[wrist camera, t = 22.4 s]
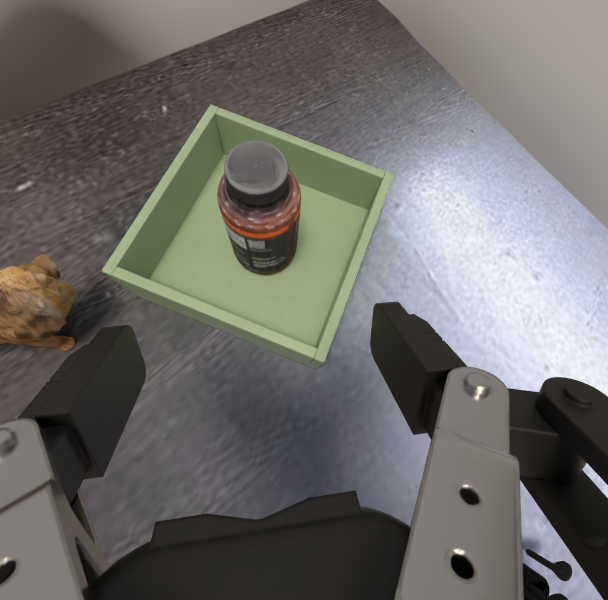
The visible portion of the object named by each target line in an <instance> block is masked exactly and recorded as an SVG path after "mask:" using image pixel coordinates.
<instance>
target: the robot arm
mask: <svg viewBox="0 0 608 600" xmlns="http://www.w3.org/2000/svg"><path fill="white" fill-rule="evenodd" d="M370 345H371V352H372V356H373V358H374V360H375V362H376V364H377V366H378V368H379V370H380V372H381V374H382V376H383V377H384V379H385V381H386V383H387V385H388V387H389V389H390V391H391V393H392V395H393V397H394V398H395V400H396V402H397V404H398V406H399V408H400V410H401V412H402V414H403V416H404V418H405V419H406V421H407V423H408V425H409V427H410V429H411V431H412V433H413V435H415V434H422V433H428V435H429V436H430V438H431V443H430V447H429V451H428V456H427V460H426V464H425V468H424V472H423V476H422V480H421V485H420V489H419V493H418V497H417V501H416V505H415V509H414V513H413V517H412V521H411V526H410V527H409V526H408V525H406V524H405V523H404V522H402V521H400V520H398V519H396V518H395V517H393V516H391V515H388V514H386V513H383V512H381V511H378V510H374V509H371V508H367V507H360V505H359V501H358V498H357V494H356V491H350V492H344V493H337V494H331V495H324V496H318V497H312V498H308V499H305V500H303V501H301V502H299V503H296V504H294V505H292V506H290V507H288V508H285V509H283V510H281V511H279V512H276V513H274V514H272V515H270V516H267V517H265V518H263V519H258V520H253V519H245V518H237V517H229V516H221V515H213V514H202V515H196V516H190V517H183V518H177V519H170V520H164V521H158V522H156V523H155V527H154V531H153V535H152V538H151V541H150V542H148V543H146V544H144V545H142V546H140V547H138V548H137V549H135V550H133V551H131V552H130V553H128V554H127V555H125V556H124V557H122V558H121V559H120V560H118V561H117V562H116V563H114V564H113V565H112V566H111V567H109V565H108V563H107V561H106V559H105V557H104V555H103V552H102V550H101V547H100V544H99V542H98V539H97V536H96V534H95V531H94V528H93V526H92V523H91V520H90V518H89V515H88V512H87V510H86V507H85V504H84V502H83V499H82V496H81V495H80V493H79V491H78V489H79V487H80V485H81V483H82V481H83V479H89V478H96V477H103V476H104V473H105V471H106V469H107V466H108V464H109V462H110V460H111V457H112V455H113V453H114V450H115V448H116V446H117V443H118V441H119V439H120V437H121V434H122V432H123V430H124V427H125V425H126V423H127V421H128V418H129V416H130V414H131V411H132V409H133V407H134V405H135V402H136V400H137V398H138V395H139V393H140V391H141V389H142V386H143V384H144V381H145V376H146V369H145V363H144V360H143V357H142V354H141V351H140V348H139V345H138V342H137V339H136V336H135V333H134V331H133V329H132V327H131V326H129V325H125V326H114V327H103V328H101V329H100V330H99V332H98V333H97V334H96V335H95V337H94V338H93V339H92V341H91V342H90V343H89V344H88V345H84V346H82V347H81V348H80V349H78V350H77V351H75V352H74V353H73V354H71V355H70V356H69V357H68V358H67V359H66V360H65V361H64V363H63V364H62V365H61V366H60V367H59V371H56V372H55V374H54V375H53V376H52V377H51V378H50V382H47V383H46V384H45V386H44V387H43V388H42V389H41V391H40V392H39V393H38V394H37V395H36V397H35V398H34V399H33V400H32V402H31V403H30V404H29V405H28V406H27V408H26V409H25V410H24V411H23V412H22V414H21V415H20V416H19V417H18V419H13V420H9V421H6V422H3V423H0V600H524V593H523V563H522V533H521V504H520V480H521V482H522V483H523V484H524V486H525V487H526V489H527V490H528V492H529V493H530V495H531V496H532V497H533V499H534V500H535V502H536V503H537V505H538V506H539V507H540V509H541V510H542V512H543V513H544V515H545V516H546V517H547V519H548V520H549V522H550V523H551V525H552V526H553V528H554V529H555V530H556V532H557V533H558V535H559V536H560V538H561V539H562V540H563V542H564V543H565V545H566V546H567V548H568V549H569V550H570V552H571V553H572V555H573V556H574V558H575V559H576V561H577V562H578V563H579V565H580V566H581V568H582V569H583V571H584V572H585V573H586V575H587V576H588V578H589V579H590V581H591V582H592V583H593V585H594V586H595V588H596V589H597V591H598V592H599V594H600V595H601V596H602V598H603V599H604V600H608V498H607V497H606V496H605V495H604V494H603V493H602V491H601V490H600V489H599V488H598V487H597V486H596V485H595V484H594V483H593V481H592V480H591V479H590V478H589V477H588V476H587V475H586V474H585V473H584V471H583V470H582V469H583V468H584V466H585V464H586V463H588V464H589V466H590V467H591V468H592V469H593V470H594V471H595V472H596V473H597V474H598V475H599V476H600V477H601V478H602V479H603V481H604V482H605V483H606V484H607V485H608V397H607V396H606V395H605V394H603V393H602V392H600V391H599V390H597V389H596V388H594V387H592V386H590V385H588V384H585V383H583V382H580V381H577V380H573V379H569V378H562V377H554V378H549V379H547V380H546V381H545V382H544V383H543V385H542V387H541V389H540V392H533V391H525V390H516V389H509V388H507V387H506V386H505V384H504V383H503V382H502V381H501V380H500V379H499V378H497V377H496V376H494V375H493V374H491V373H489V372H486V371H484V370H481V369H478V368H473V367H467V366H466V364H465V363H464V362H463V361H462V360H461V359H460V358H459V357H458V356H457V354H456V353H455V352H454V351H453V350H452V349H451V348H450V347H449V346H448V344H447V343H446V342H445V341H442V338H441V337H440V336H439V334H438V333H435V330H434V329H433V328H432V327H431V326H430V325H429V323H428V322H427V321H425V320H423V319H421V318H420V317H418V316H416V315H414V314H411V315H409V314H408V313H407V312H406V310H405V309H404V308H403V307H402V306H401V304H400V303H399V302H387V303H377V304H375V306H374V309H373V319H372V329H371V340H370Z"/></svg>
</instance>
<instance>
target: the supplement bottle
mask: <svg viewBox="0 0 608 600" xmlns="http://www.w3.org/2000/svg"><path fill="white" fill-rule="evenodd" d="M217 199H218V205H219V208H220V211H221V215H222V218H223V221H224V224H225V227H226V230H227V233H228V236H229V239H230V242H231V245H232V248H233V251H234V254H235V256H236V258H237V260H238V261H239V263H240V264H241V265H242V266H243V267H244V268H246V269H247V270H249V271H250V272H253V273H256V274H263V275H267V274H273V273H277V272H279V271H281V270H283V269H284V268H285V267H287V266H288V265H289V264H290V262H291V261H292V260H293V258H294V256H295V253H296V248H297V240H298V230H299V219H300V210H301V190H300V186H299V183H298V181H297V179H296V177H295V176H294V174H293V173H292V172H291V171H290V170H289V166H288V162H287V159H286V157H285V155H284V154H283V153H282V151H281V150H279V149H278V148H277V147H276V146H274V145H272V144H270V143H268V142H264V141H247V142H244V143H241V144H239V145H237V146H236V147H234V148H233V149H232V150H231V151H230V152H229V154H228V155H227V157H226V159H225V162H224V174H223V176H222V178H221V180H220V182H219V185H218V191H217Z"/></svg>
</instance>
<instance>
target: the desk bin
mask: <svg viewBox="0 0 608 600" xmlns="http://www.w3.org/2000/svg"><path fill="white" fill-rule="evenodd" d="M247 141H264V142H268V143H270V144H272V145H274V146H276V147H277V148H278V149H279V150H281V151H282V153H283V154H284V155H285V157H286V159H287V162H288V166H289V170H290V171H291V172H292V173H293V174H294V176H295V177H296V179H297V181H298V183H299V186H300V190H301V210H300V219H299V230H298V240H297V248H296V253H295V256H294V258H293V260H292V261H291V262H290V264H289V265H288V266H287V267H285V268H284V269H283V270H281V271H279V272H277V273H273V274H267V275H263V274H256V273H253V272H250V271H249V270H247V269H246V268H244V267H243V266H242V265H241V264H240V263H239V261H238V260H237V258H236V256H235V254H234V251H233V248H232V245H231V242H230V239H229V236H228V233H227V230H226V227H225V224H224V221H223V218H222V215H221V211H220V208H219V205H218V199H217V191H218V185H219V182H220V180H221V178H222V176H223V174H224V162H225V159H226V157H227V155H228V154H229V152H230V151H231V150H232V149H233V148H234V147H236V146H237V145H239V144H241V143H244V142H247ZM393 177H394V174H392V173H389V172H385V171H383V170H381V169H378V168H376V167H373V166H370V165H368V164H365V163H362V162H360V161H357V160H355V159H352V158H349V157H347V156H344V155H342V154H339V153H336V152H334V151H331V150H329V149H326V148H323V147H321V146H318V145H315V144H313V143H310V142H308V141H305V140H302V139H300V138H297V137H295V136H292V135H289V134H287V133H284V132H282V131H279V130H276V129H274V128H271V127H268V126H266V125H263V124H261V123H258V122H255V121H253V120H250V119H248V118H245V117H242V116H240V115H237V114H234V113H232V112H229V111H227V110H224V109H221V108H218V107H216V106H214V105H210V106H209V108H208V109H207V111H206V112H205V114H204V115H203V117H202V119H201V120H200V122H199V123H198V125H197V126H196V128H195V129H194V131H193V132H192V134H191V135H190V137H189V138H188V140H187V141H186V143H185V144H184V146H183V147H182V149H181V150H180V152H179V154H178V155H177V157H176V158H175V160H174V161H173V163H172V164H171V166H170V167H169V169H168V170H167V172H166V173H165V175H164V176H163V178H162V179H161V181H160V182H159V184H158V186H157V187H156V189H155V190H154V192H153V193H152V195H151V196H150V198H149V199H148V201H147V202H146V204H145V205H144V207H143V208H142V210H141V211H140V213H139V214H138V216H137V217H136V219H135V221H134V222H133V224H132V225H131V227H130V228H129V230H128V231H127V233H126V234H125V236H124V237H123V239H122V240H121V242H120V243H119V245H118V246H117V248H116V249H115V251H114V253H113V254H112V256H111V257H110V259H109V260H108V262H107V263H106V265H105V266H104V268H103V269H102V272H103V273H104V274H106V275H107V276H109V277H110V278H112V279H113V280H114V281H116V282H117V283H119V284H120V285H121V286H123V287H124V288H126V289H127V290H128V291H130V292H131V293H133V294H134V295H136V296H139V297H141V298H143V299H146V300H148V301H151V302H153V303H156V304H158V305H160V306H163V307H165V308H168V309H170V310H173V311H175V312H177V313H180V314H182V315H185V316H187V317H190V318H192V319H194V320H197V321H199V322H202V323H204V324H206V325H209V326H211V327H214V328H216V329H219V330H221V331H223V332H226V333H228V334H231V335H233V336H236V337H238V338H240V339H243V340H245V341H248V342H250V343H253V344H255V345H257V346H260V347H262V348H265V349H267V350H269V351H272V352H274V353H277V354H279V355H282V356H284V357H286V358H289V359H291V360H294V361H296V362H299V363H301V364H303V365H306V366H308V367H311V368H313V369H316V368H318V367H319V366H320V365H322V364H323V363H324V362H325V360H326V357H327V354H328V352H329V349H330V346H331V344H332V341H333V338H334V336H335V333H336V330H337V327H338V325H339V322H340V319H341V317H342V314H343V311H344V309H345V306H346V303H347V301H348V298H349V295H350V292H351V290H352V287H353V284H354V282H355V279H356V276H357V274H358V271H359V268H360V266H361V263H362V260H363V257H364V255H365V252H366V249H367V247H368V244H369V241H370V239H371V236H372V233H373V230H374V228H375V225H376V222H377V220H378V217H379V214H380V212H381V209H382V206H383V204H384V201H385V198H386V195H387V193H388V190H389V187H390V185H391V182H392V179H393Z"/></svg>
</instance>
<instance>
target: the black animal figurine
mask: <svg viewBox="0 0 608 600" xmlns="http://www.w3.org/2000/svg"><path fill="white" fill-rule="evenodd" d="M526 554H527V555H529V556H530V557H532V558H533V559H535V560H536V561H538V562H540V563H541V564H543V565H544V566H546V567H547V568H549V569H551V570H552V571H553V572H554V573H555V574H556V576H557V577H558V578H559V579H561V580H562V581H568V580H569V579H570V577H571V575H572V568H571V566H570V565H569V564H568V563H566V562H565V561H559V562H556V563H551V562H550V561H548V560H546V559H545V558H543V557H541V556H540V555H538V554H536V553H535V552H533V551H531V550H530V549H526ZM523 593H524V600H568V599H567V598H566V597H565V596H564V595H562V594H559V593H558V594H553V595H551V596H549V585H548V582H547V581H546V579H545V578H544V577H542V576H541V575H540V574H538V573H537V572H535V571H534V570H532V569H531V568H529V567H528V566H526V565H525V564H523Z"/></svg>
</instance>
